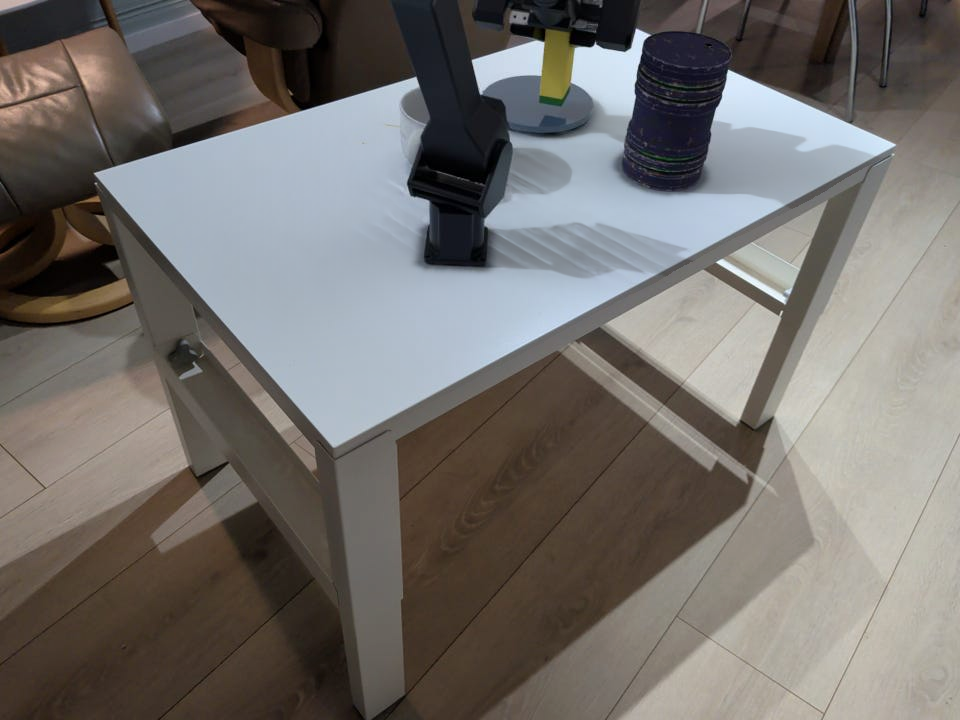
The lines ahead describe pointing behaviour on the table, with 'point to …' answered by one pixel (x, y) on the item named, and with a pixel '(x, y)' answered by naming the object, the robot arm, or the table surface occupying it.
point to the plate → (539, 105)
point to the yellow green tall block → (556, 67)
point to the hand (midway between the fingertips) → (562, 41)
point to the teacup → (412, 123)
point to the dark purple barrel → (674, 109)
